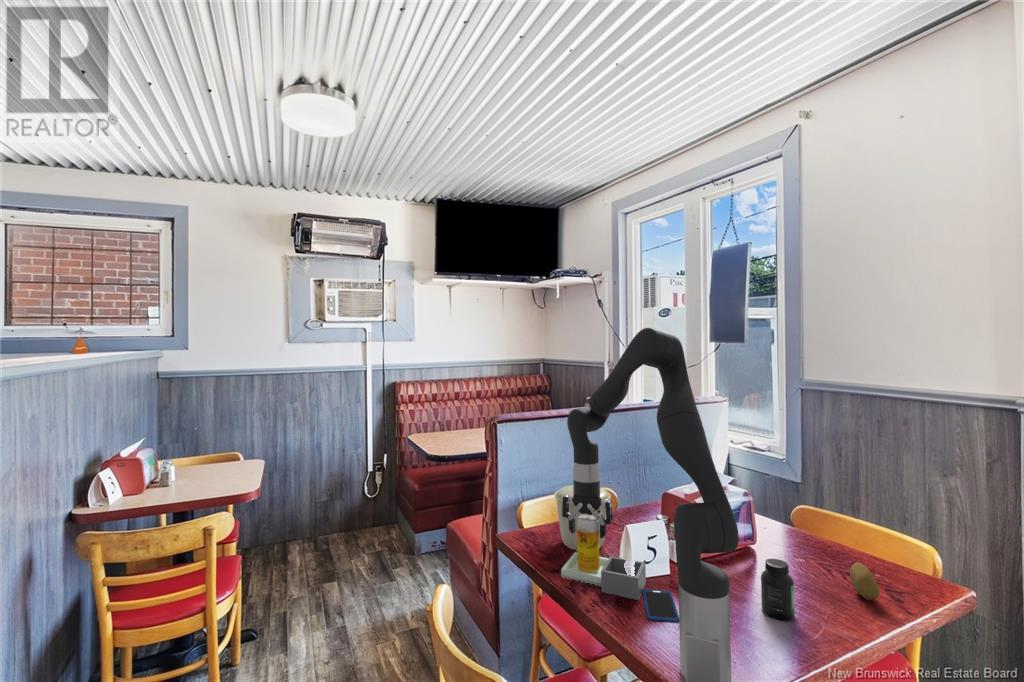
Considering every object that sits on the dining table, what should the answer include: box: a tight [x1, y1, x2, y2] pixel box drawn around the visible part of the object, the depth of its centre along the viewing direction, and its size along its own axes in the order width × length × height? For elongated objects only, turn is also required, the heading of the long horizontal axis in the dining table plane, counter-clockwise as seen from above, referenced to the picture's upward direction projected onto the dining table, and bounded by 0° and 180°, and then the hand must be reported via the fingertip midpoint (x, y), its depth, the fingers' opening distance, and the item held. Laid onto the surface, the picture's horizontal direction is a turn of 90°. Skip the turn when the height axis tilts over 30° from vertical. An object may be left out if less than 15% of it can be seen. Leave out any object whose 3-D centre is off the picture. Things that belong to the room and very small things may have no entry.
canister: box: [553, 484, 611, 552], centre depth 152 cm, size 18×18×21 cm
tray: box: [560, 551, 610, 587], centre depth 134 cm, size 12×12×2 cm
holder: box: [600, 555, 647, 601], centre depth 126 cm, size 10×10×6 cm
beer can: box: [577, 514, 600, 574], centre depth 134 cm, size 6×6×15 cm
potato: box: [849, 562, 880, 601], centre depth 119 cm, size 7×8×8 cm
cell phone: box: [641, 588, 679, 624], centre depth 117 cm, size 7×14×1 cm, turn 170°
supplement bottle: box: [760, 558, 796, 622], centre depth 112 cm, size 7×7×12 cm
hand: (587, 534), depth 134 cm, fingers open, 8 cm apart
